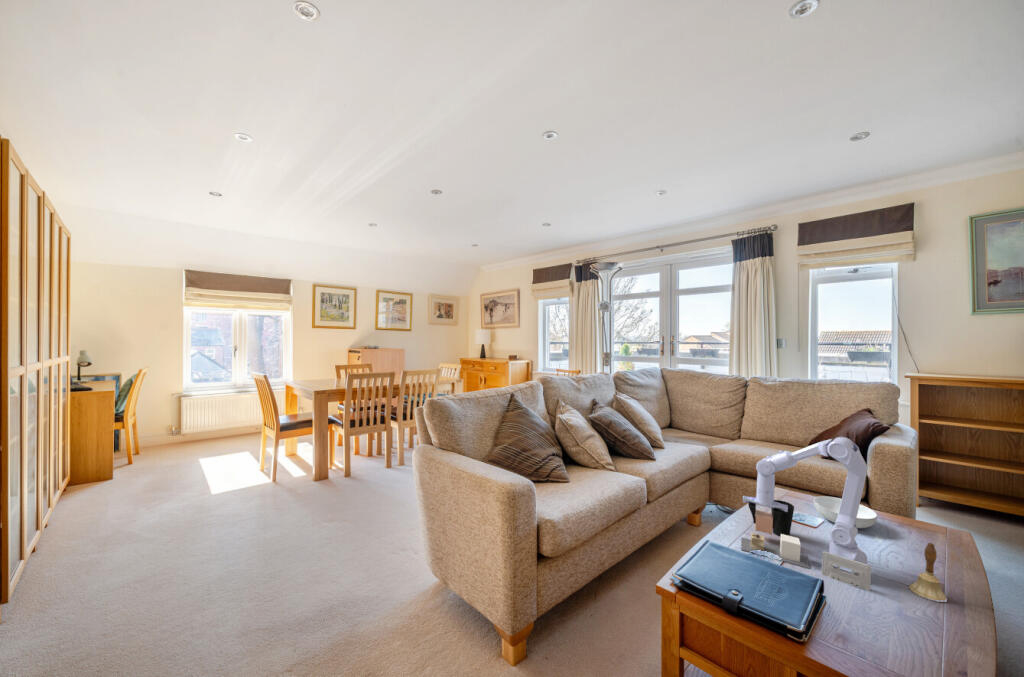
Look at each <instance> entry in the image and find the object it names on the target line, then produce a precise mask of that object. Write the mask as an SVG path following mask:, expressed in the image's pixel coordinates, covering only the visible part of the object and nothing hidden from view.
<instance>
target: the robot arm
mask: <svg viewBox="0 0 1024 677" xmlns="http://www.w3.org/2000/svg"><path fill="white" fill-rule="evenodd" d="M818 455H821V456H824V457H829V456H830V457H831V458H832V459H834V460H836V461H838V462H839V463H840V464H841V465H842V466H844V467H845V469H846V470H847V472H846V473H847V474H846V477H845V478H846V479H845V482H844V487H843V493H842V495H841V496H842V497H841V499H842V500H841V505H840V509H839V514H838V517H837V520H836V522H835V523H834V525H832V526H833V527H831V528H830V529H829V549H828V553H831V554H835V555H838V556H841V557H844V558H847V559H851V560H854V561H857V562H860V563H864V564H867V565H868V556H867V553H866V552H864V551H863V550H861V549H860V548H859V547H858V543H857V541H856V537H857V535H858V534H859V530H858V529H859V528H857V526H856V521H857V513H858V509H859V505H860V503H861V501H862V500H861V499H862V495H863V491H864V487H865V482H866V477H867V475H868V470H869V468H868V465H867V463H866V461H865V459H864V457H863V456H862V453H861V451H860V447H859V446H858V445H857V444H856V443H855V442H853V441H852V440H851V439H850V438H848V437H845V436H838V437H835V438H834V439H833V438H830V439H827V440H822V441H819V442H817V443H814V444H811V445H808V446H806V447H803V448H801V449H798V450H796V451H793V452H791V451H788V450H784V451H783V450H779V451H778V452H777V453H776V454H773V455H771V454H770V455H767V456H766V457H763V458H762V459H760V460H759V461H757V463H756V464H755V469H756V471H757V478H756V495H755V497H754V496H746V495H743V496H742V503H745V504H746V503H747V504H748V509H749V510H750V513H751V516H752V521H753V522H752V523H753V524H754V525H755V523H756V518H755V515H756V510H757V506H761V507H766V508H770V509H771V508H773V526H772V528H774V526H775V523H776V521H777V519H778V518H779V516H780V515H781V513H782V512H781V510H783V511H785V512H788V506H787V505H784V504H781V503H778V502H775V501H774V500H775V483H776V482H775V481H776V479H775V478H776V477H775V475H776V472H781V471H784V470H787V469H790V468H792V467H795V466H797V464H798V462H800V461H803V460H804V459H808V458H811V457H815V456H818ZM834 566H835V567H838V566H837V565H834ZM840 569H843V570H846V571H849V572H852V570H851V569H847V568H844V567H841V566H840ZM855 573H856V574H858V572H855Z"/></svg>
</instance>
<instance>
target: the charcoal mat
mask: <svg viewBox="0 0 1024 677" xmlns="http://www.w3.org/2000/svg"><path fill="white" fill-rule="evenodd" d="M740 539H741V541H740V542H741V544H740V545H741V546H740V551H742V552H746V553H749V552H750V551H753V550H756V549H752V548H751V538H750V539H749V538H745V537H741V538H740ZM764 551H767V552H771V553H773V554H775V555H778V556H779V557H780V558H782V559H781V560H782V561H784V562H783V563H787V564H790V565H794V566H798V567H801V568H805V569H808V570H809V569H810V566H809V562H808V557H807V555H806V553H803V552H800V562H798V561H794V560H790V559H787V558H783V557H781V554H780V546H776V545H773V544H768V543H765V542H764ZM782 561H781V562H782Z"/></svg>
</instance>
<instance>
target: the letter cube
mask: <svg viewBox="0 0 1024 677" xmlns="http://www.w3.org/2000/svg"><path fill="white" fill-rule="evenodd" d="M750 534H751V535H750V540H751V548H752V549H756V550H761V551H764V543H765V535H763V534H757V533H754V532H751V533H750Z"/></svg>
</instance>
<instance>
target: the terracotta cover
mask: <svg viewBox="0 0 1024 677" xmlns="http://www.w3.org/2000/svg"><path fill="white" fill-rule="evenodd" d="M755 518H756V523H755V524H754V529H755V531H756V532H761V533H765V534H769V535H773V529H772V526H773V516H772V512H767V511H763V510H760V509H756V514H755Z"/></svg>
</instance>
